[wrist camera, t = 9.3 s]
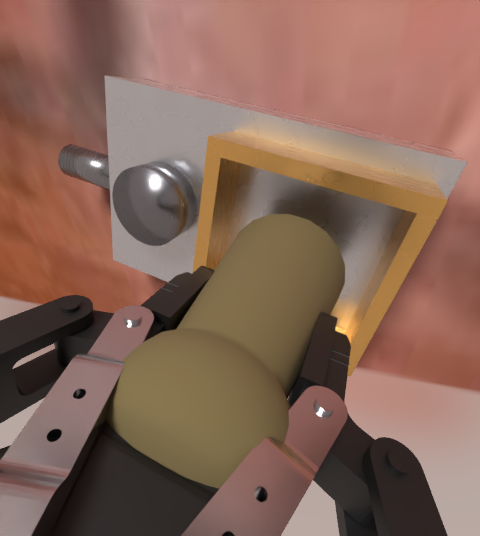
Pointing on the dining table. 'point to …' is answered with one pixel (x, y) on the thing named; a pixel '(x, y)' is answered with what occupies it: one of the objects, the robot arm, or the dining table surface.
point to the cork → (231, 353)
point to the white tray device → (262, 189)
